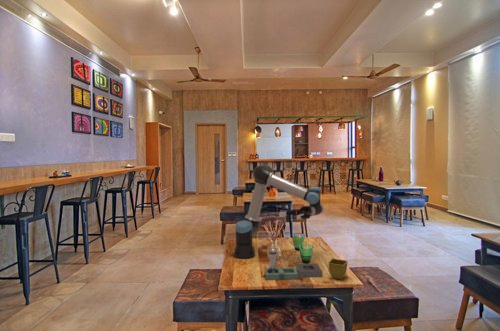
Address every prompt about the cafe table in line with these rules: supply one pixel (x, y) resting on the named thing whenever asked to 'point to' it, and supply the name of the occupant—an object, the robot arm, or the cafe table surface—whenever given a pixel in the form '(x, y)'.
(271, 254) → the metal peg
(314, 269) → the socket block
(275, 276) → the frame
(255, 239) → the cafe table surface
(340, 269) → the flower pot
